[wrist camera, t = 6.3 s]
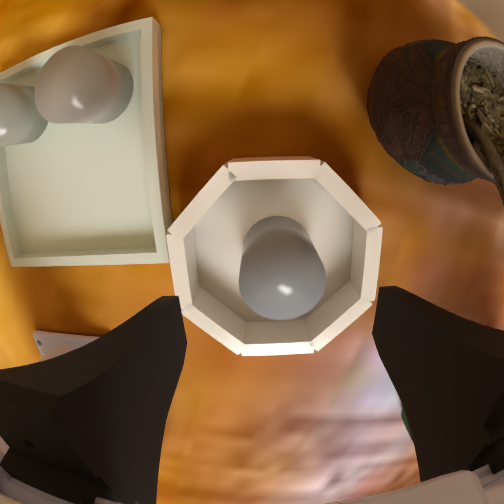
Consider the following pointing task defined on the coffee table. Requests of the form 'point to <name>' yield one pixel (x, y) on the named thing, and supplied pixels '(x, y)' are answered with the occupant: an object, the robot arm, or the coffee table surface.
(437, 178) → the mate gourd
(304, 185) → the bowl
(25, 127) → the pebble
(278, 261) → the grey rounded cylinder
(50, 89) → the pebble
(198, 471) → the coffee table surface
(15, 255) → the tray
